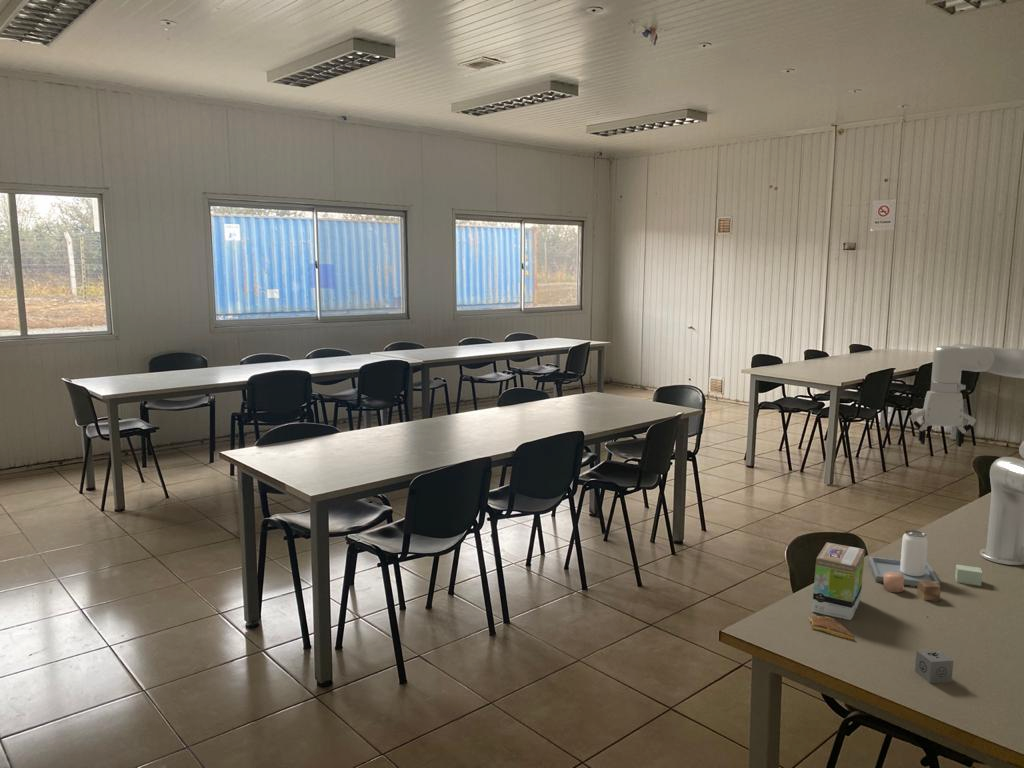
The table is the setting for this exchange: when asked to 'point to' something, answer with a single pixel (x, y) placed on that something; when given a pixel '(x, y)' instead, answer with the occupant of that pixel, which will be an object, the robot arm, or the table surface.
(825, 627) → the toasted sandwich
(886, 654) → the table surface
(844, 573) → the tea box
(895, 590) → the brown egg
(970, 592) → the table surface
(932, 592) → the walnut block
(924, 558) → the can
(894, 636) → the table surface
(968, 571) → the sage block
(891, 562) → the tray
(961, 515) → the table surface
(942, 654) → the dice cube
